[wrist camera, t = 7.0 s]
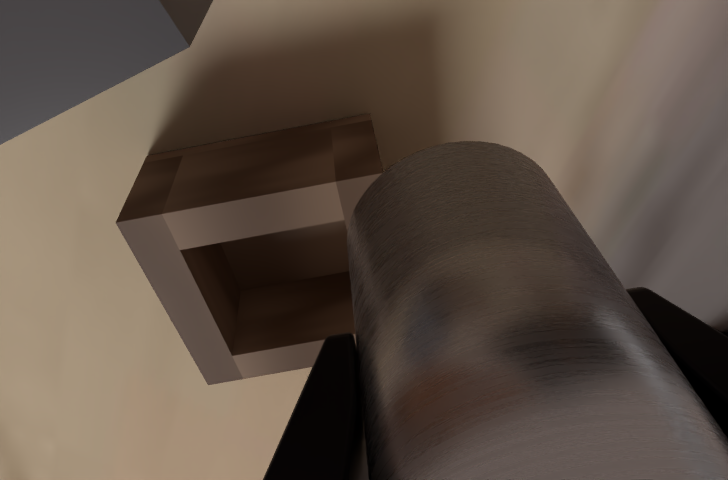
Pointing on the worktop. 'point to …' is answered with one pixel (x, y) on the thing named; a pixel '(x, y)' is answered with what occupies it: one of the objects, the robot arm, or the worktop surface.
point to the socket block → (253, 242)
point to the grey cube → (82, 51)
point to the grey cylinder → (507, 335)
